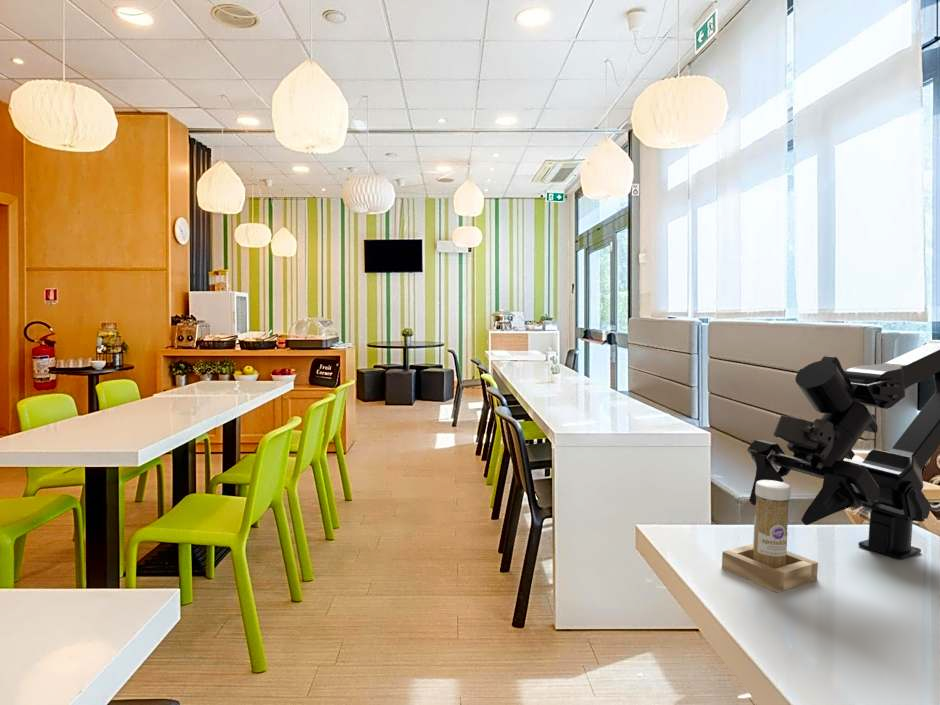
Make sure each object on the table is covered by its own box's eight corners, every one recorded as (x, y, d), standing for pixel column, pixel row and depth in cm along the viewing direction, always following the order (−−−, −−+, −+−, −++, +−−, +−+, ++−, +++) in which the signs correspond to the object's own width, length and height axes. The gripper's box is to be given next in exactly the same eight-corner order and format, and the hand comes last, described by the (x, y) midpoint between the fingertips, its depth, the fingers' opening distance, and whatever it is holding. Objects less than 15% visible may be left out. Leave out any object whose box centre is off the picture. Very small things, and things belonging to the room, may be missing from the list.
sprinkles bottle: (767, 582, 89) (772, 488, 88) (744, 569, 93) (748, 480, 92) (793, 578, 90) (798, 486, 89) (769, 565, 95) (774, 477, 94)
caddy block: (761, 557, 98) (762, 541, 98) (817, 579, 90) (818, 562, 90) (721, 568, 94) (722, 551, 93) (776, 592, 86) (777, 574, 86)
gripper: (759, 389, 101) (701, 461, 98) (871, 407, 84) (805, 495, 80) (792, 435, 105) (737, 506, 101) (906, 461, 87) (845, 548, 84)
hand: (776, 512), depth 92 cm, fingers open, 9 cm apart
